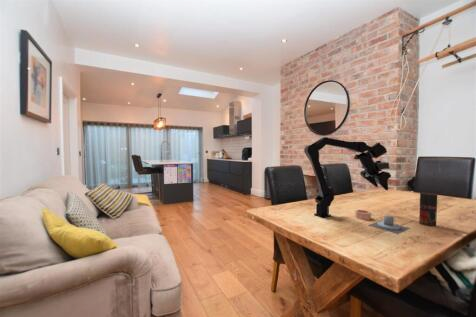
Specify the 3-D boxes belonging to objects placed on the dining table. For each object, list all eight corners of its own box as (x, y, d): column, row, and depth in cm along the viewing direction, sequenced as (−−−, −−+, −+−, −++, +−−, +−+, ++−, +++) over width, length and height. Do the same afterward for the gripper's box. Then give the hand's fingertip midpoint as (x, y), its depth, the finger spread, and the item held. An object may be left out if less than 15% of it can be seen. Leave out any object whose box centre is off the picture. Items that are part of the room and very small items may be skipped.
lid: (394, 231, 90) (395, 221, 90) (373, 225, 98) (373, 215, 97) (403, 227, 95) (404, 217, 95) (382, 222, 102) (383, 212, 102)
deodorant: (419, 222, 104) (420, 192, 103) (435, 225, 100) (436, 193, 99) (419, 226, 99) (420, 194, 98) (436, 229, 95) (437, 195, 94)
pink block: (365, 222, 104) (366, 214, 104) (352, 218, 110) (353, 211, 110) (372, 219, 108) (373, 212, 108) (359, 216, 113) (360, 209, 113)
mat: (397, 235, 88) (397, 234, 88) (367, 226, 98) (367, 225, 98) (410, 229, 94) (410, 228, 94) (380, 222, 105) (380, 220, 105)
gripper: (393, 156, 103) (408, 184, 104) (372, 154, 122) (385, 178, 122) (372, 167, 104) (387, 195, 105) (354, 164, 123) (367, 187, 123)
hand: (381, 188), depth 114 cm, fingers open, 9 cm apart
